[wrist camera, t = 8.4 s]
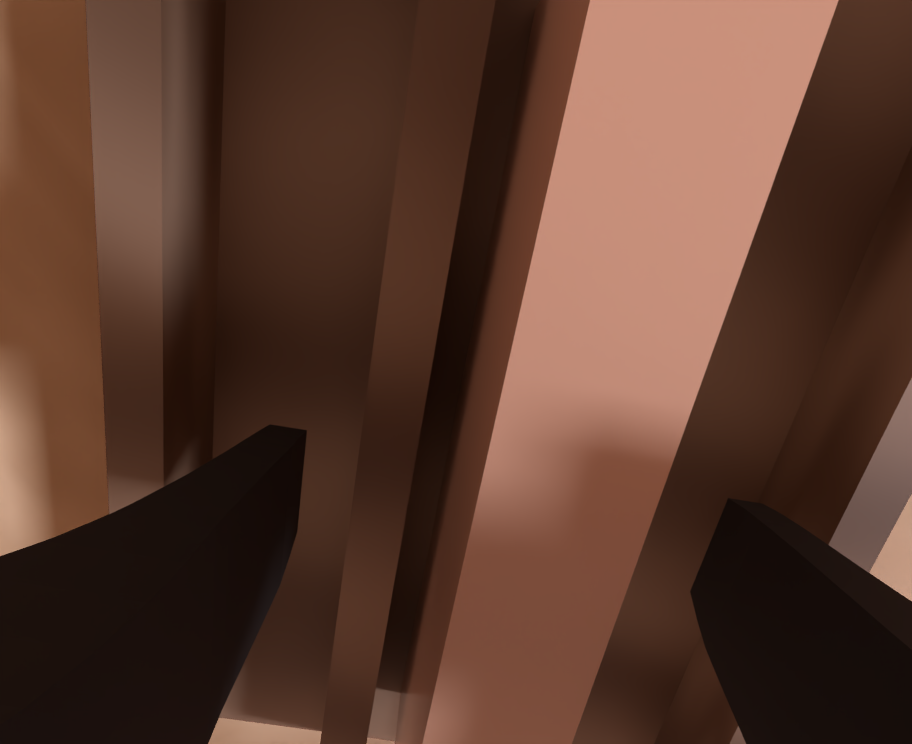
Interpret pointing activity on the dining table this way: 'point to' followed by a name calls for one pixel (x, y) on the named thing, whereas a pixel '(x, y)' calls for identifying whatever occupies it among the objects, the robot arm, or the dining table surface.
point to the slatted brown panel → (463, 320)
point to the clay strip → (593, 340)
